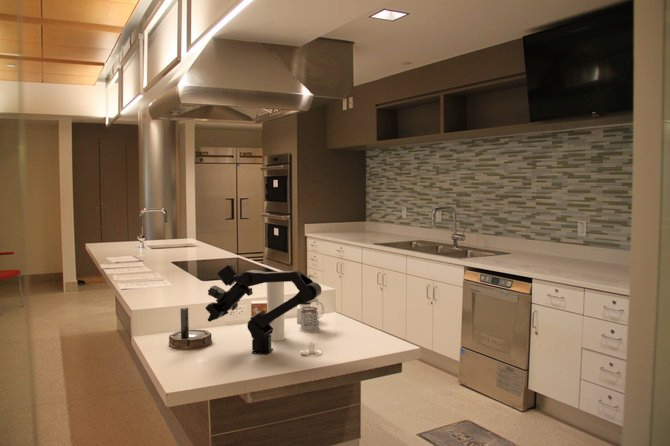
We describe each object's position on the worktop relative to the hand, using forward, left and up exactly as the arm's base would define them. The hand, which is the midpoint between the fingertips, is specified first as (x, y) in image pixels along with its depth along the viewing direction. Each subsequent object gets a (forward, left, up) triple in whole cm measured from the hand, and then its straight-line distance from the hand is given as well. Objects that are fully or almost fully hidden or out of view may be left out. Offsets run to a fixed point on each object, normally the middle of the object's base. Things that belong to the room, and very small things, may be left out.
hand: (208, 320), depth 212 cm
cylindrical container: (-22, -18, -11) cm, 31 cm away
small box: (-11, -29, -11) cm, 33 cm away
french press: (-33, -35, -11) cm, 49 cm away
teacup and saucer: (-38, -2, -12) cm, 40 cm away
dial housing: (+10, -4, -11) cm, 16 cm away
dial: (+10, -4, -10) cm, 15 cm away
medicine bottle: (-26, -49, -11) cm, 57 cm away
